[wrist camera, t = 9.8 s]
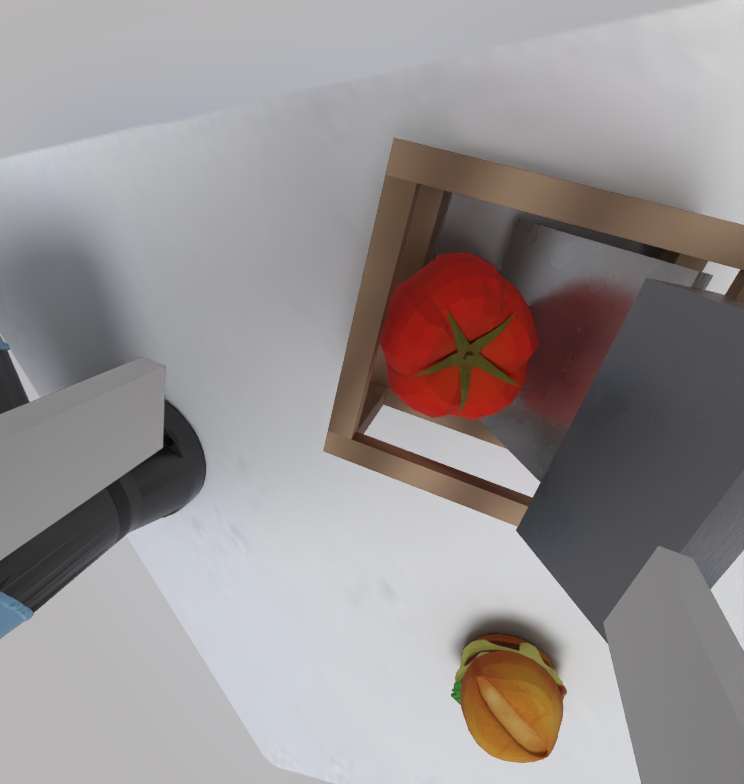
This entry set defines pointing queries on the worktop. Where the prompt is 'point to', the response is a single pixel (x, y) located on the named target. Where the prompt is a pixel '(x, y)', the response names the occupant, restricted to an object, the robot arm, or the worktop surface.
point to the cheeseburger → (510, 697)
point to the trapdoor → (625, 415)
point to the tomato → (458, 339)
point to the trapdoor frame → (389, 248)
